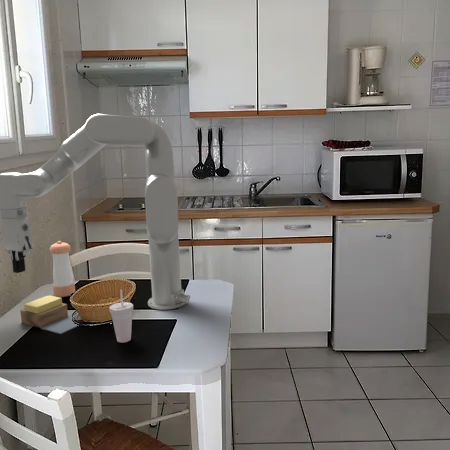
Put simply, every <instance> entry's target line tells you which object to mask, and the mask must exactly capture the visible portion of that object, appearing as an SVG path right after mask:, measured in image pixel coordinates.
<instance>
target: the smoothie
mask: <svg viewBox="0 0 450 450" xmlns="http://www.w3.org/2000/svg"><path fill="white" fill-rule="evenodd" d="M119 296H120V302H118V303H116V302H115V303H113V304H111V305H109V309H108V310H109V312H110V314H111V315H110V316H111V319H112V322H113V323H112V324H113V328H114V333H115V337H116V341H117V342H118V343H121V344H123V343H128V342H129V341H131V339H132V325H133V323H132V321H133V310H134V304H133V303H131V302H126V301H124V299H123V298H124V297H123V289H119Z"/></svg>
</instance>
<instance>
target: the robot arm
mask: <svg viewBox="0 0 450 450" xmlns="http://www.w3.org/2000/svg"><path fill="white" fill-rule="evenodd" d="M85 121H86V122H85V124H84V125H83V126H81V128H79V129H78V130H76V131H75V133H73V134H72V135H70V136H69V137H68V138H67V139H66V140H64V141H63V142H62V143H61V145H60V146H59V148H58V149H57V151H56V153H54V155H53V156H52V157H51V158H50V159H48V161H46V162H44V163H43V164H42V166H40V167H39V168H38V169H37V170H34V171H31V172H27V173H21V172H2V173H0V240H1V241H0V242H1V246H2V248H3V249H4V251H5V252H6V253H8V254H9V256H10V257H9V258H10V259H11V263H12V272H13V273H16V274H21V273H23V272H25V271H26V261H25V259H26V256H28V255H31V251H30V250H33V249H34V248H35V244H34V235H33V229H32V225H31V222H30V218H29V217H28V210H27V200H26V198H40V197H42V196H45V195H47V194H48V193H49V192H51V191H52V190H53V189H54V188H55V187H57V186H58V185H59V184H60V183H62V182H63V181H64V180H65V179H66V178H67V177H68V176H70V175H72V173H74V172H75V171H76V170H79V168H80V167H82V166H83V165H84V164H85V163H87V162H88V161H89V160H90V159H91V158H92V157H94V156H95V155H96V154H97V153H98V152H100V151H101V150H102V149H103V148H105V147H106V146H107V145H110V146H124V147H125V146H127V147H129V146H130V147H142V149H143V151H144V153H145V154H144V155H145V168H146V169H145V170H146V184H145V187H144V203H145V206H144V207H145V222H146V224H145V225H146V233H147V235H148V251H149V267H150V281H151V283H150V284H151V297H150V298H149V299H148V301H147V305H148V307H149V308H151V309H154V310H161V311H163V310H164V311H166V310H175V309H178V308H181V307H183V306H185V305H186V304H189V303H190V299H191V295H190V294H186V293H185V290H184V289H183V288H182V277H181V263H180V262H181V261H180V243H179V242H180V241H179V204H178V202H179V200H178V189H177V184H176V181H175V179H176V178H175V167H174V166H175V165H174V152H173V147H172V143H171V140H170V138H169V135H168V134H167V133H166V131H165V130H164V129H163V128H162V126H160V125H158V124H157V123H155V122H154V121H152V120H150V119H148V118H146V117H143V116H135V115H134V116H130V115H117V114H116V115H115V114H105V113H104V114H103V113H96V114H93V115H91V116H89V118H88V119H86V120H85Z"/></svg>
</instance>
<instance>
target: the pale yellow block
mask: <svg viewBox="0 0 450 450" xmlns="http://www.w3.org/2000/svg"><path fill="white" fill-rule="evenodd" d="M62 298H63V297H57V296H54V295H46V296H41V297H40V298H36V299H35V300H32V301H30V302H26V303H24V304H23V307H24V309H25V311H29V312H33V313H37V314H38V313H41V312H43V311H46V310H49V309H51V308H54V307H56V306H59V305H61V304H62V303H63V299H62Z"/></svg>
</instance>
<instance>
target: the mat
mask: <svg viewBox="0 0 450 450" xmlns="http://www.w3.org/2000/svg"><path fill="white" fill-rule="evenodd" d="M72 316H73V315H71V314H70V315H69V314H68V316H67V317H65V318H62V319H60V320H58V321H55V322H53V323H51V324H48V325H46V326H44V327H41V328H40V330H44V331H48V332H50V333H51V332H52V333H55V334H58V335H62V334H65V333H66V332H69V331H71V330H73V329H76V328H77V326H78V327H80V326H79V325H77V324H74V323H73V321H72Z"/></svg>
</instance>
